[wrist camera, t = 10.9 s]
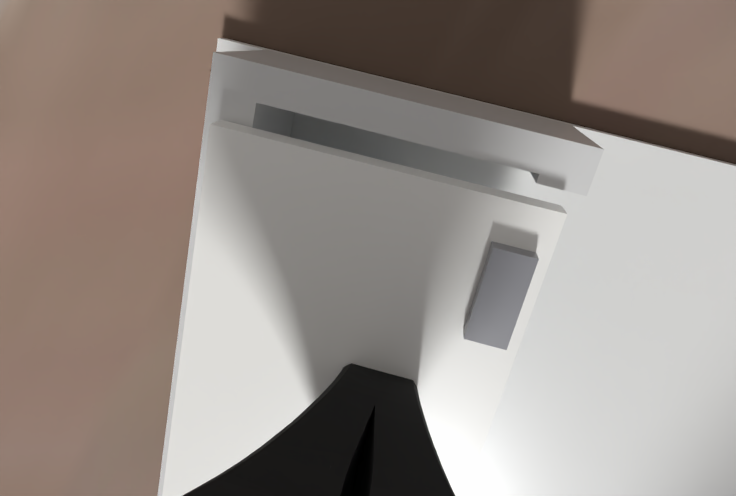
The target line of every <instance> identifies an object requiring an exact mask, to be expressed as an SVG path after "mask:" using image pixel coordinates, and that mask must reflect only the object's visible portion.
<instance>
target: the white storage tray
mask: <svg viewBox="0 0 736 496" xmlns="http://www.w3.org/2000/svg"><path fill="white" fill-rule="evenodd" d="M220 120H224V121H228V122H232V123H236V124H240V125H244V126H248V127H252V128H256V129H260V130H264V131H268V132H272V133H276V134H280V135H284V136H288V137H292V138H296V139H300V140H304V141H308V142H312V143H316V144H319V145H323V146H327V147H331V148H335V149H339V150H343V151H347V152H351V153H355V154H359V155H363V156H367V157H371V158H375V159H379V160H383V161H387V162H391V163H395V164H399V165H403V166H407V167H411V168H415V169H419V170H423V171H427V172H431V173H435V174H439V175H443V176H447V177H450V178H454V179H458V180H462V181H466V182H470V183H474V184H478V185H482V186H486V187H490V188H494V189H498V190H502V191H506V192H510V193H514V194H518V195H522V196H526V197H530V198H534V199H538V200H542V201H546V202H550V203H554V204H558V205H561V206H562V207H563V209H564V210H565V211H566V213H567V217H566V219H565V222H564V225H563V228H562V230H561V233H560V236H559V239H558V241H557V244H556V247H555V250H554V252H553V255H552V258H551V261H550V263H549V266H548V269H547V272H546V274H545V277H544V280H543V283H542V285H541V288H540V291H539V294H538V296H537V299H536V302H535V305H534V307H533V310H532V313H531V316H530V318H529V321H528V324H527V327H526V329H525V332H524V335H523V338H522V340H521V343H520V346H519V349H518V351H517V354H516V357H515V360H514V362H513V365H512V368H511V371H510V374H509V376H508V379H507V382H506V385H505V387H504V390H503V393H502V396H501V398H500V401H499V404H498V407H497V409H496V412H495V415H494V418H493V420H492V423H491V426H490V429H489V431H488V434H487V437H486V440H485V442H484V445H483V448H482V451H481V453H480V456H479V459H478V462H477V464H476V467H475V470H474V473H473V475H472V478H471V481H470V484H469V486H468V489H467V492H466V495H465V496H736V164H733V163H728V162H724V161H720V160H716V159H712V158H708V157H704V156H700V155H696V154H692V153H688V152H684V151H680V150H676V149H672V148H668V147H664V146H660V145H656V144H652V143H648V142H644V141H640V140H635V139H631V138H627V137H623V136H619V135H615V134H611V133H607V132H603V131H599V130H595V129H591V128H587V127H583V126H579V125H575V124H571V123H567V122H563V121H559V120H555V119H551V118H547V117H542V116H538V115H534V114H530V113H526V112H522V111H518V110H514V109H510V108H506V107H502V106H498V105H494V104H490V103H486V102H482V101H478V100H474V99H470V98H466V97H462V96H458V95H453V94H449V93H445V92H441V91H437V90H433V89H429V88H425V87H421V86H417V85H413V84H409V83H405V82H401V81H397V80H393V79H389V78H385V77H381V76H377V75H373V74H369V73H365V72H360V71H356V70H352V69H348V68H344V67H340V66H336V65H332V64H328V63H324V62H320V61H316V60H312V59H308V58H304V57H300V56H296V55H292V54H288V53H284V52H280V51H276V50H272V49H267V48H263V47H259V46H255V45H251V44H247V43H243V42H239V41H235V40H231V39H227V38H218V43H217V51H216V52H213V59H212V67H211V75H210V83H209V91H208V99H207V107H206V115H205V123H204V131H203V139H202V147H201V155H200V163H199V170H198V178H197V186H196V194H195V202H194V210H193V218H192V226H191V234H190V242H189V250H188V258H187V266H186V274H185V282H184V290H183V298H182V306H181V314H180V322H179V330H178V338H177V346H176V354H175V362H174V370H173V378H172V386H171V394H170V402H169V410H168V418H167V426H166V433H165V441H164V449H163V457H162V465H161V473H160V481H159V489H158V496H162V493H163V485H164V478H165V470H166V462H167V454H168V447H169V439H170V431H171V423H172V415H173V408H174V400H175V392H176V384H177V377H178V369H179V361H180V353H181V346H182V338H183V330H184V322H185V315H186V307H187V299H188V291H189V284H190V276H191V268H192V260H193V253H194V245H195V237H196V229H197V222H198V214H199V206H200V198H201V191H202V183H203V175H204V167H205V160H206V152H207V144H208V136H209V129H210V124H212V123H214V122H217V121H220Z"/></svg>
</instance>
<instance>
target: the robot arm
mask: <svg viewBox="0 0 736 496" xmlns="http://www.w3.org/2000/svg"><path fill="white" fill-rule="evenodd" d="M183 496H455V494H454V492H453V490H452V487H451V485H450V483H449V481H448V479H447V476H446V474H445V472H444V469H443V467H442V464H441V462H440V459H439V457H438V454H437V451H436V449H435V446H434V444H433V441H432V438H431V435H430V432H429V430H428V426H427V423H426V420H425V417H424V414H423V410H422V407H421V403H420V399H419V394H418V389H417V386H416V384H415V383H414V381H413V380H411V379H407V378H404V377H400V376H396V375H393V374H389V373H385V372H382V371H378V370H374V369H371V368H367V367H363V366H360V365H356V364H352V363H351V364H349V365H347V366H345V367H343V369H342V370H341V372H340V373H339V375H338V376H337V377H336V378H335V380H334V381H333V382H332V383H331V384H330V385H329V386H328V388H327V389H326V390H325V391H324V392H323V393H322V394H321V395H320V396H319V397H318V398H317V399H316V400H315V401H314V402H313V403H312V404H311V405H310V406H308V407H307V408H306V409H305V410H304V411H303V412H302V413H301V414H300V415H299V416H298V417H297V418H296V419H294V420H293V421H292V422H291V423H290V424H289V425H287V426H286V427H285V428H284V429H282V430H281V431H280V432H279V433H277V434H276V435H275V436H274V437H272V438H271V439H270V440H269V441H267V442H266V443H265V444H264V445H262V446H261V447H260V448H258V449H257V450H255V451H254V452H253V453H251V454H250V455H248V456H247V457H245V458H244V459H243V460H241V461H240V462H238V463H237V464H235V465H233V466H232V467H230V468H229V469H227V470H226V471H224V472H223V473H221V474H219V475H218V476H216V477H214V478H213V479H211V480H209V481H207V482H206V483H204V484H202V485H200V486H198V487H197V488H195V489H193V490H191V491H190V492H188V493H186V494H184V495H183Z"/></svg>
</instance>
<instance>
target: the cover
mask: <svg viewBox="0 0 736 496" xmlns="http://www.w3.org/2000/svg"><path fill="white" fill-rule="evenodd" d="M566 217H567V213H566V211H565V210H564V209H563V207H562V206H561V205H558V204H554V203H550V202H546V201H542V200H538V199H534V198H530V197H526V196H522V195H518V194H514V193H510V192H506V191H502V190H498V189H494V188H490V187H486V186H482V185H478V184H474V183H470V182H466V181H462V180H458V179H454V178H450V177H447V176H443V175H439V174H435V173H431V172H427V171H423V170H419V169H415V168H411V167H407V166H403V165H399V164H395V163H391V162H387V161H383V160H379V159H375V158H371V157H367V156H363V155H359V154H355V153H351V152H347V151H343V150H339V149H335V148H331V147H327V146H323V145H319V144H316V143H312V142H308V141H304V140H300V139H296V138H292V137H288V136H284V135H280V134H276V133H272V132H268V131H264V130H260V129H256V128H252V127H248V126H244V125H240V124H236V123H232V122H228V121H224V120H220V121H217V122H214V123H212V124H210V129H209V136H208V144H207V152H206V160H205V167H204V175H203V183H202V191H201V198H200V206H199V214H198V222H197V229H196V237H195V245H194V253H193V260H192V268H191V276H190V284H189V291H188V299H187V307H186V315H185V322H184V330H183V338H182V346H181V353H180V361H179V369H178V377H177V384H176V392H175V400H174V408H173V415H172V423H171V431H170V439H169V447H168V454H167V462H166V470H165V478H164V485H163V493H162V496H183V495H184V494H186V493H188V492H190V491H191V490H193V489H195V488H197V487H198V486H200V485H202V484H204V483H206V482H207V481H209V480H211V479H213V478H214V477H216V476H218V475H219V474H221V473H223V472H224V471H226V470H227V469H229V468H230V467H232V466H233V465H235V464H237V463H238V462H240V461H241V460H243V459H244V458H245V457H247V456H248V455H250V454H251V453H253V452H254V451H255V450H257V449H258V448H260V447H261V446H262V445H264V444H265V443H266V442H267V441H269V440H270V439H271V438H272V437H274V436H275V435H276V434H277V433H279V432H280V431H281V430H282V429H284V428H285V427H286V426H287V425H289V424H290V423H291V422H292V421H293V420H294V419H296V418H297V417H298V416H299V415H300V414H301V413H302V412H303V411H304V410H305V409H306V408H307V407H308V406H310V405H311V404H312V403H313V402H314V401H315V400H316V399H317V398H318V397H319V396H320V395H321V394H322V393H323V392H324V391H325V390H326V389H327V388H328V386H329V385H330V384H331V383H332V382H333V381H334V380H335V378H336V377H337V376H338V375H339V373H340V372H341V370H342V369H343V367H345V366H347V365H349V364H351V363H352V364H356V365H360V366H363V367H367V368H371V369H374V370H378V371H382V372H385V373H389V374H393V375H396V376H400V377H404V378H407V379H411V380H413V381H414V383H415V384H416V386H417V389H418V394H419V399H420V403H421V407H422V410H423V414H424V417H425V420H426V423H427V426H428V430H429V432H430V435H431V438H432V441H433V444H434V446H435V449H436V451H437V454H438V457H439V459H440V462H441V464H442V467H443V469H444V472H445V474H446V476H447V479H448V481H449V483H450V485H451V487H452V490H453V492H454V494H455V496H465V495H466V492H467V489H468V486H469V484H470V481H471V478H472V475H473V473H474V470H475V467H476V464H477V462H478V459H479V456H480V453H481V451H482V448H483V445H484V442H485V440H486V437H487V434H488V431H489V429H490V426H491V423H492V420H493V418H494V415H495V412H496V409H497V407H498V404H499V401H500V398H501V396H502V393H503V390H504V387H505V385H506V382H507V379H508V376H509V374H510V371H511V368H512V365H513V362H514V360H515V357H516V354H517V351H518V349H519V346H520V343H521V340H522V338H523V335H524V332H525V329H526V327H527V324H528V321H529V318H530V316H531V313H532V310H533V307H534V305H535V302H536V299H537V296H538V294H539V291H540V288H541V285H542V283H543V280H544V277H545V274H546V272H547V269H548V266H549V263H550V261H551V258H552V255H553V252H554V250H555V247H556V244H557V241H558V239H559V236H560V233H561V230H562V228H563V225H564V222H565V219H566Z"/></svg>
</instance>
